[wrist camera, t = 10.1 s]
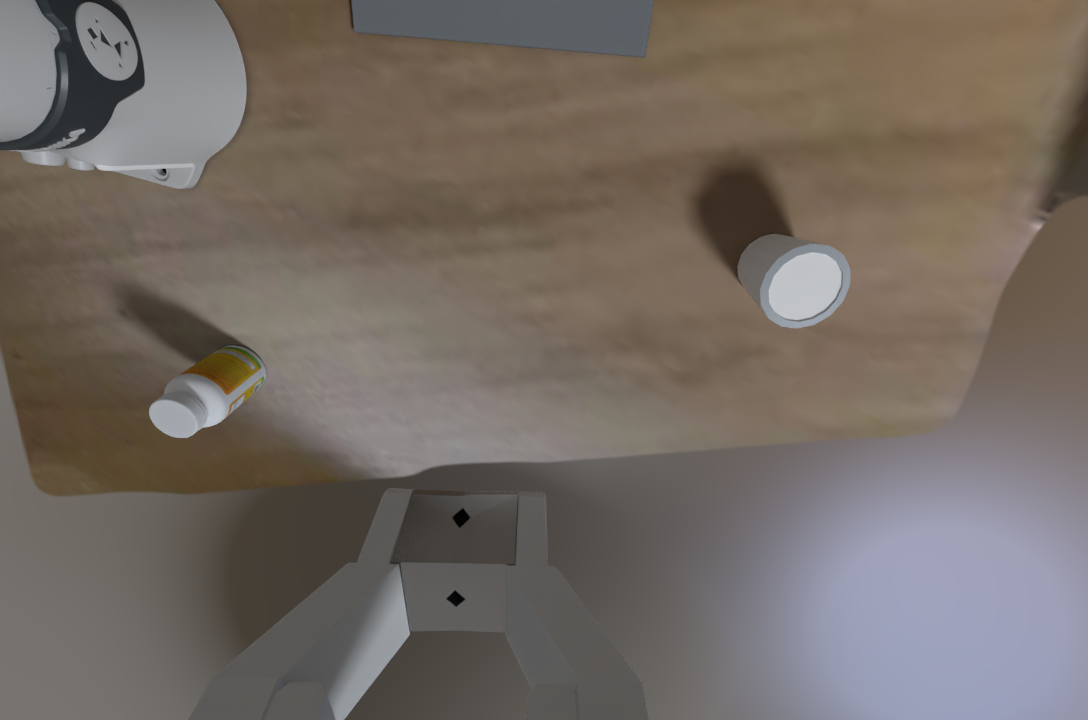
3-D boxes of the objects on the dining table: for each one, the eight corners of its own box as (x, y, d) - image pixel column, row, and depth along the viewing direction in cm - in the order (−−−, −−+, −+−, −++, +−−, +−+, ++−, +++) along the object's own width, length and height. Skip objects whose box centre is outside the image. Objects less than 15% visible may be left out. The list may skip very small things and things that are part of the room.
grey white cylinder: (716, 286, 43) (743, 313, 37) (754, 215, 41) (791, 230, 34) (781, 310, 44) (818, 339, 38) (823, 241, 41) (870, 261, 35)
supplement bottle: (208, 342, 47) (129, 390, 38) (261, 345, 47) (194, 393, 38) (222, 388, 50) (151, 443, 41) (272, 391, 50) (212, 446, 41)
